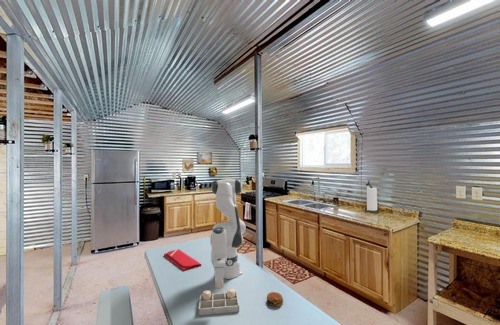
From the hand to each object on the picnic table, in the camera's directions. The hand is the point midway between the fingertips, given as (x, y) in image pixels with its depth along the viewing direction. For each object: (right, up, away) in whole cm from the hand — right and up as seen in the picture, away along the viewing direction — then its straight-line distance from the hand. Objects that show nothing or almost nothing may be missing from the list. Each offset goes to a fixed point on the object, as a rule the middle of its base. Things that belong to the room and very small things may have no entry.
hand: (219, 282), depth 133 cm
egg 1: (-8, -15, +6) cm, 18 cm away
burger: (+32, -16, +7) cm, 36 cm away
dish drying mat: (-41, -17, +69) cm, 82 cm away
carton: (-1, -15, +3) cm, 16 cm away
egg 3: (+6, -15, +8) cm, 18 cm away
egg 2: (0, -2, 0) cm, 2 cm away
